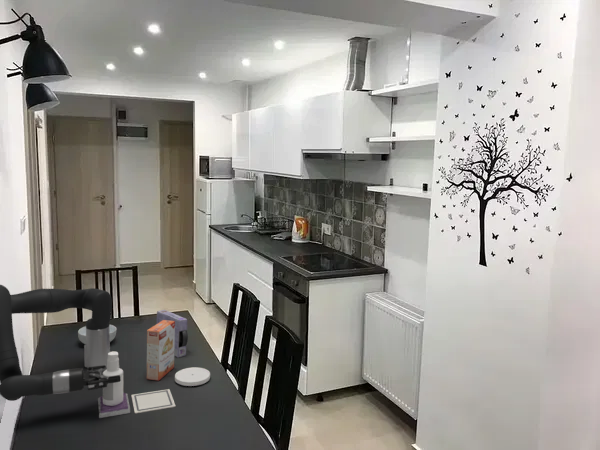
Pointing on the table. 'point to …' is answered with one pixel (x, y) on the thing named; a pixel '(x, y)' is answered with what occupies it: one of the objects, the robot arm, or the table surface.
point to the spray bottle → (113, 390)
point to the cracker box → (160, 349)
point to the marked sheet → (152, 401)
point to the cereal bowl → (83, 333)
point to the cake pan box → (176, 331)
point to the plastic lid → (192, 376)
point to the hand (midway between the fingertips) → (119, 373)
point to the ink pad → (114, 407)
